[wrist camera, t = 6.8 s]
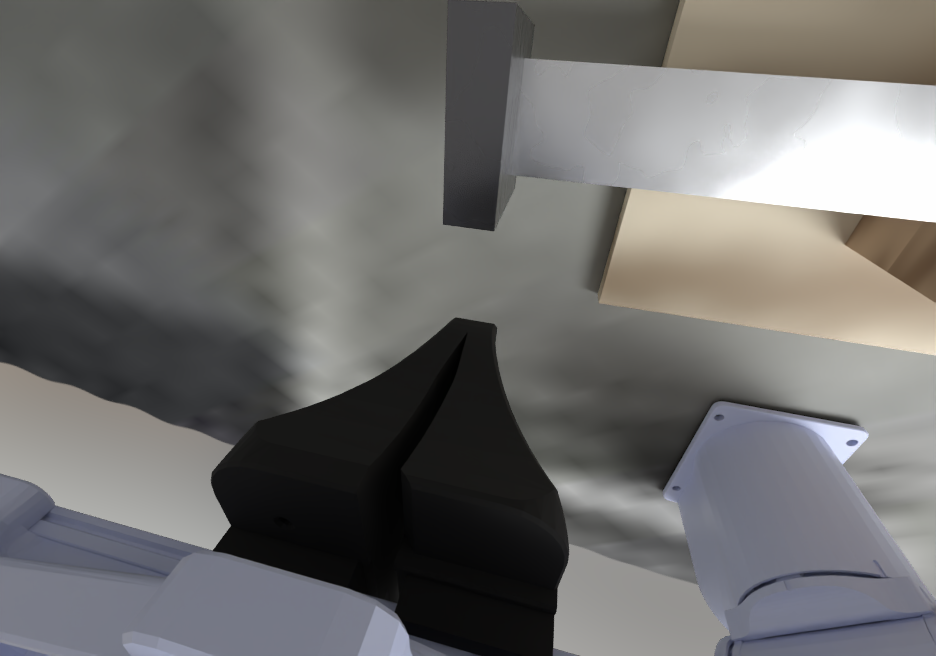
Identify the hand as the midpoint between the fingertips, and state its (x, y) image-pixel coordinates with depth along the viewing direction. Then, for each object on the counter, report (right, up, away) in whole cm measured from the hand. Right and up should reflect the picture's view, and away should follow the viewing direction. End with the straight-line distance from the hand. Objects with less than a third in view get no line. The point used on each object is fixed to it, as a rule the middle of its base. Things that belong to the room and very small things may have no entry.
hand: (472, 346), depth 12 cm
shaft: (+10, +7, 0) cm, 12 cm away
